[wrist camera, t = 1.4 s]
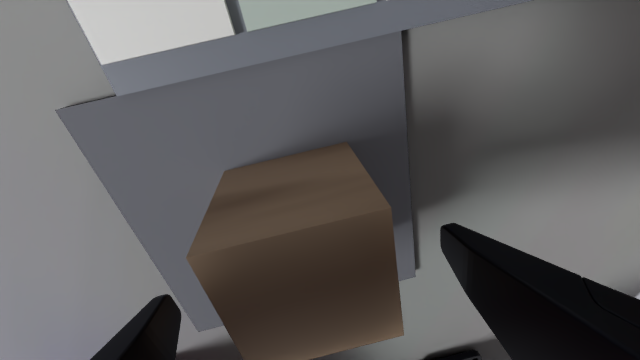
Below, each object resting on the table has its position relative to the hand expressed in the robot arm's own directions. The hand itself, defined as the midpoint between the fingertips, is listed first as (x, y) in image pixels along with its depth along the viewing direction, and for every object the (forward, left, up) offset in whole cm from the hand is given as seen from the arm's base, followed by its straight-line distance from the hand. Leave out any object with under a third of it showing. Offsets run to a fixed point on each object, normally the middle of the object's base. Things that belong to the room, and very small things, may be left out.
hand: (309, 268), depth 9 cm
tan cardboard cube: (0, 0, -4) cm, 4 cm away
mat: (0, +1, -4) cm, 4 cm away
